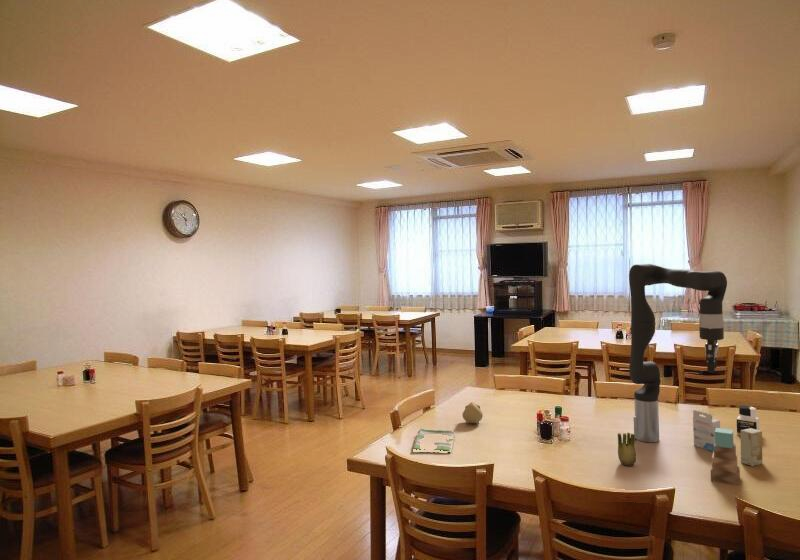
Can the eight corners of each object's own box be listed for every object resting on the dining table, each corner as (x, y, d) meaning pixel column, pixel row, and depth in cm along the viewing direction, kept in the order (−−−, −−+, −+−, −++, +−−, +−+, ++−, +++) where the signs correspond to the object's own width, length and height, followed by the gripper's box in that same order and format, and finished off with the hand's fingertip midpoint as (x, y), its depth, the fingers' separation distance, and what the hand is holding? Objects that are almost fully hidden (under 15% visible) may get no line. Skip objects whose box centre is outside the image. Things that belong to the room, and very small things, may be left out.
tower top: (714, 457, 173) (713, 445, 173) (715, 452, 178) (715, 440, 178) (734, 460, 170) (734, 449, 170) (735, 455, 174) (735, 443, 174)
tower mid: (712, 468, 173) (711, 457, 173) (713, 462, 179) (713, 451, 179) (736, 473, 169) (736, 461, 169) (737, 466, 175) (737, 454, 175)
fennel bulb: (617, 464, 190) (616, 432, 189) (622, 460, 193) (621, 429, 193) (633, 468, 185) (632, 436, 185) (638, 464, 189) (637, 432, 189)
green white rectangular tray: (455, 436, 230) (454, 428, 229) (452, 455, 207) (452, 446, 207) (418, 435, 232) (417, 428, 232) (411, 454, 210) (411, 445, 209)
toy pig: (483, 420, 251) (482, 398, 251) (482, 427, 239) (481, 405, 239) (463, 419, 253) (463, 398, 253) (461, 427, 241) (461, 405, 241)
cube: (715, 445, 173) (714, 431, 173) (716, 441, 177) (716, 427, 177) (732, 448, 170) (732, 433, 170) (733, 444, 174) (733, 429, 174)
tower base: (710, 481, 173) (710, 469, 173) (712, 472, 179) (712, 461, 179) (738, 486, 168) (738, 474, 168) (739, 477, 175) (739, 466, 175)
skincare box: (752, 466, 183) (751, 433, 183) (740, 462, 187) (739, 430, 187) (763, 463, 185) (762, 430, 185) (751, 459, 189) (750, 427, 189)
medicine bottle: (736, 434, 216) (736, 407, 216) (739, 430, 221) (739, 403, 221) (756, 438, 211) (756, 410, 211) (759, 433, 216) (758, 406, 216)
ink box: (721, 449, 200) (720, 413, 200) (713, 451, 198) (712, 414, 198) (701, 443, 208) (700, 408, 208) (693, 445, 206) (692, 409, 206)
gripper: (701, 323, 190) (702, 365, 191) (697, 327, 179) (698, 373, 179) (724, 324, 186) (725, 367, 186) (722, 328, 174) (722, 375, 175)
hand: (712, 370), depth 183 cm, fingers open, 8 cm apart
